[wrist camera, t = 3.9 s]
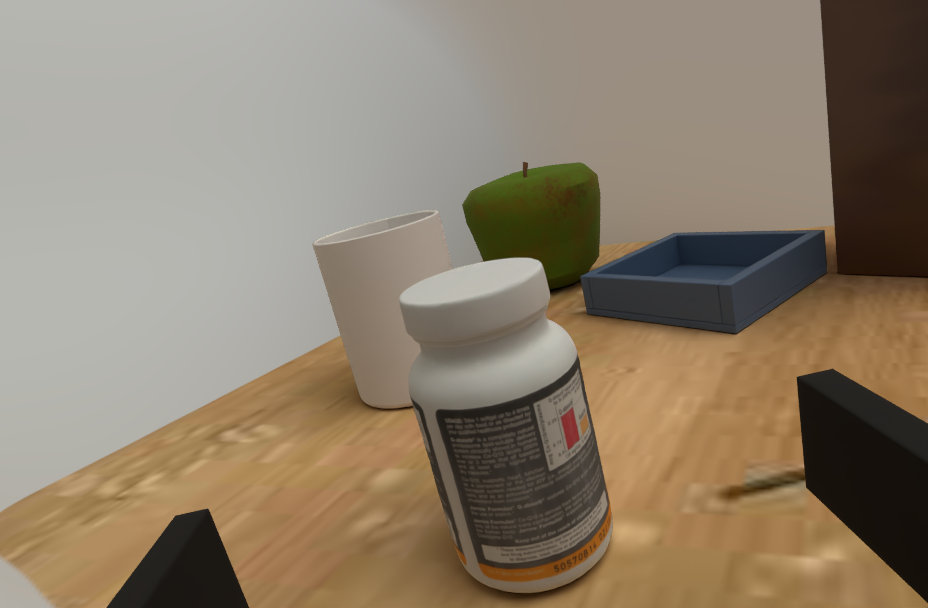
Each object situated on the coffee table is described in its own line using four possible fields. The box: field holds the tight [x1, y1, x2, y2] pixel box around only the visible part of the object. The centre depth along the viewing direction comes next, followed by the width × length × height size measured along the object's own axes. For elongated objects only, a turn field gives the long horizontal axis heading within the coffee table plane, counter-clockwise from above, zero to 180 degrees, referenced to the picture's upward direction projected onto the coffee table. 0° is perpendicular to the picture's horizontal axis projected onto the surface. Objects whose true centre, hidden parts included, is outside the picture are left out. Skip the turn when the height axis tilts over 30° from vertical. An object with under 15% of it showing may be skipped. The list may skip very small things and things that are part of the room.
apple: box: [462, 162, 600, 289], centre depth 52 cm, size 12×12×11 cm
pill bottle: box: [399, 258, 613, 593], centre depth 19 cm, size 6×6×10 cm
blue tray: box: [580, 230, 827, 333], centre depth 40 cm, size 12×12×3 cm
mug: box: [313, 210, 453, 408], centre depth 38 cm, size 12×8×10 cm, turn 177°
